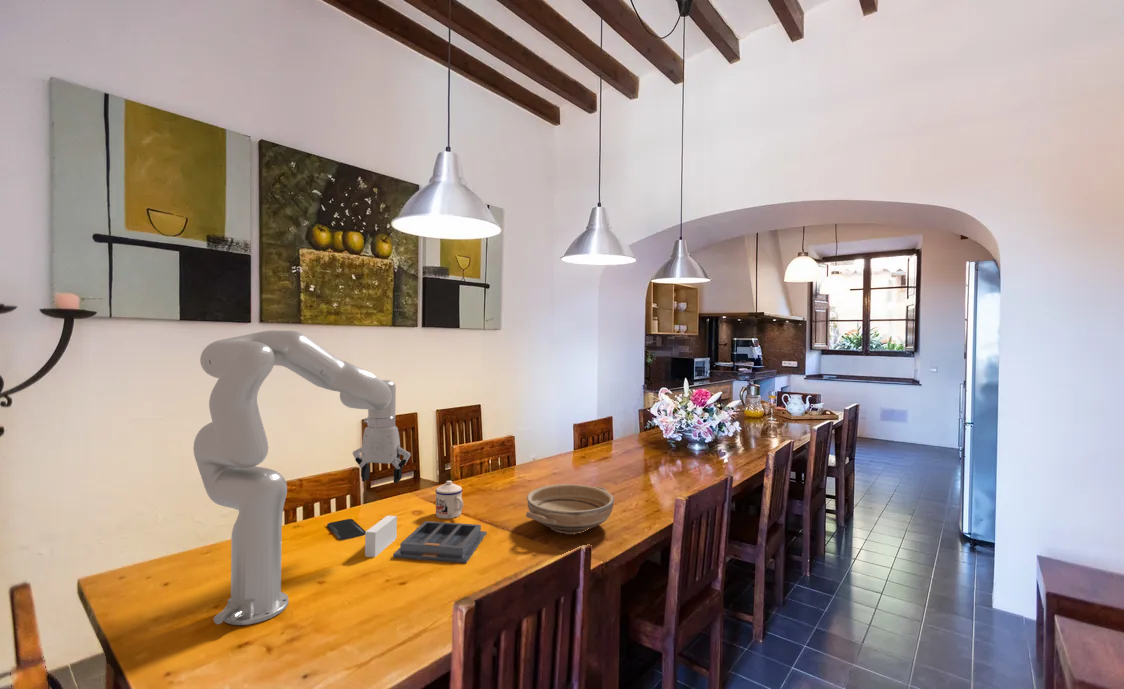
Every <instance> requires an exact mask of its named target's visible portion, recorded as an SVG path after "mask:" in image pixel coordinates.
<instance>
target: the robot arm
mask: <svg viewBox="0 0 1124 689" xmlns="http://www.w3.org/2000/svg"><path fill="white" fill-rule="evenodd" d="M199 361H200V366H201V368H202V370H203V371H204V372H205V373H206V374H207V375H209V376H211V377H213V378H217V381H216V382H215V383H214V386H213V389H212V390H211V392H210V396H209V398H208V399H209V400H208V405H209V407H208V408H209V413H210V417H211V422H209V423H207V424H205V425H203V427H201V428H200V430H198V432H197V434H196V435H195V439H194V441H193V455H194V459H195V462H196V466H197V468H198V471H199V475H200V478H201V480H202V484H203V486H204V489H205V491H206V494H207V496H208V497H209V499H210V500H211V501H212V502H213V503H215V504H216V505H218V506H222V507H226V508H229V509H234V510H236V511H238V515H237V517H236V520H235V522H234V524H233V528H232V530H231V536H230V537H231V538H230V539H231V541H230V542H231V543H230V545H231V547H230V548H231V551H230V553H231V554H230V556H231V558H230V560H231V562H230V563H231V564H230V565H231V566H230V570H231V571H230V597H229V599H227V604H226V606H225V607H224V608H223V609H222V611H220V612H219V613H218V614H216V615H214V617H213V622H214V624H216V625H221V624H222V623H225V624H226V623H227V624H228V625H231V626H248V625H253V624H258V623H261V622H264V621H267V620H269V619H272V618H274V617H276V616H277V615H279V614H281V613H282V612H283V611H285V609H286V608H287V607H288V605H289V602H290V601H289V596H288V594H286V593H285V592H282V540H283V538H282V528H283V527H282V526H283V514H284V513H283V511H284V506H285V503H286V498H287V495H288V494H287V493H288V484H287V481H286V479H285V477H284V476H283V475H282V474H281V473H280V472H278V471H276V470H274V469H272V468H268V467H262V466H258V465H260V464H261V463H263V462H264V461H265V459H266V458H267V456H268V453H269V444H268V443H269V442H268V437H267V434H266V431H265V427H264V424H263V421H262V420H263V419H262V417H261V414H260V411H259V405H258V395H259V391H260V388H261V387H262V384H264V383H263V382H264V381H265V380H266V378H267V377H268V376H269V375H270V373H272V370H273V368H274V366H280V367H284V368H287V369H288V370H290V371H292V372H293V373H295V374H296V375H298V376H299V377H302V378H303V379H304V380H306V381H308V382H309V383H311V384H313V385H314V386H316V387H319V388H323V389H325V390H329V391H333V392H338V393H339V400H340V402H341V403H342V405H344V406H345V407H347V408H349V409H356V410H357V409H358V410H368V411H367V417H365V418H364V419H363V423H365V424H367V426H366V427H365V428H364V431H363V436H362V444H361V447H360V448H358V449H355V450H354V451H352V455H353V457H354V461H355V462H356V463H357V464H358V467H359V468H360V477H361V481H362V482H365V481H368V480H369V479H370V465H369V463H373V464H392V466H394V468H395V469H393V483H394V484H397V483H398V482H400V481H401V480H402V477H403V474H402V473H403V472H402V470H403V467H404V466H405V465H406V464H407V463H408V461H409V459H410V457H411V456H412V454H411V452H409V451H407V450H406V449H404V448H403V447H401V441H400V440H401V439H400V433H399V429H398V426H396V407H397V406H396V404H397V403H396V392H397V389H396V388H397V387H396V386H397V385H396V383H395V381H393V380H391V379H390V380H389V379H388V380H387V379H381V378H379V377H378V376H376V375H375V374H374V373H371V372H370V371H367V370H365V369H363V368H361V367H359V366H356V365H354V364H351V363H350V362H347V361H346V360H342V359H341V358H339V357H336V356H335V355H334V354H332V353H331V352H330V351H328V350H327V349H325V348H324V347H322V346H321V345H319V344H318V343H317V342H315V341H314V340H313V339H311V338H310V337H308V336H306V335H305V334H303V333H301V332H299V331H295V330H274V329H273V330H264V331H259V332H253V333H249V334H244V335H240V336H233V337H230V338H229V337H228V338H223V339H219V340H215V341H213V342H211V343H209V344H208V345H207V346H205V348H204V349H203V350H202V352H201V354H200V359H199ZM401 455H402V456H403V458H402V460H401V459H400V458H401Z"/></svg>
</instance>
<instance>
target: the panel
mask: <svg viewBox="0 0 1124 689" xmlns="http://www.w3.org/2000/svg"><path fill="white" fill-rule="evenodd" d="M397 523H398V515H386V516H384V517H383V518H382V519H380V520H379V521H378V522H377V523H375V524H374V525H372V526H371V527H370V528H368V529H367V530H365V531H366V532H365V535H364V537H365V541H364V542H365V543H364V544H365V545H364V556H365V557H368V558H375V557H377V556H378V555H380V554H381V553H382V552H383V551H384V550H385V549H386V548H388V546H390V545H391V544H392V543H393V542H395V541H396V540H397V534H398V533H397V532H398V531H397V530H398V529H397V528H398V527H397V525H398V524H397ZM395 539H396V540H395Z"/></svg>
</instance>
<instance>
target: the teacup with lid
mask: <svg viewBox="0 0 1124 689" xmlns="http://www.w3.org/2000/svg"><path fill="white" fill-rule="evenodd" d="M462 493H463V488H462V486H461V485H457V484H456V483H453V481H452V480H446V481H445V483H444V484H442V485H440V486H438V487H437V488H436V489H435V516H436V517H437V518H439V519H443V520H447V519H448V520H449V519H450V518H451V519H455V517H456V518H458V517H460V516H461V515H462V510H463V508H464V500H463V499H462V497H463V496H462ZM451 519H450V520H451Z"/></svg>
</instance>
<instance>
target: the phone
mask: <svg viewBox="0 0 1124 689" xmlns="http://www.w3.org/2000/svg"><path fill="white" fill-rule="evenodd" d="M327 526H328V527H327ZM326 527H327V528H328V529H329V530H330V532H331V533H332V534H333V533H334V534H335V535H336V536H337V537H336V536H335V535H334V536H335V537H336V539H338V540H339V539H340V540H339V541H345V539H346V540H349V539H354V538H358V537H363V536H365V532H366V531H367V530H365V529H364V528H363V527H361V525H359V524H358V523H357V522H356V521H355V520H354V519H352V518H346V519H342V520H336V521H331V522H328V523H327V524H326Z"/></svg>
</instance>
